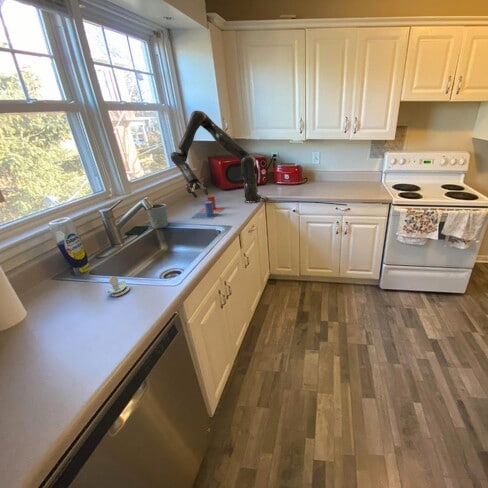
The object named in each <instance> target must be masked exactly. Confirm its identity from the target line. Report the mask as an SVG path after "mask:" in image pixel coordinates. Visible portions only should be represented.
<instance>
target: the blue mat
mask: <svg viewBox="0 0 488 488" xmlns="http://www.w3.org/2000/svg"><path fill="white" fill-rule="evenodd" d="M218 213H219V212H214V216H213V217H207V215H206V212H198V213H196V214H195V215H194V216H192V217H191V218H192V219H214V218H215V217H216V216H217V215H218Z"/></svg>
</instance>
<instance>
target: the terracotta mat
mask: <svg viewBox="0 0 488 488" xmlns="http://www.w3.org/2000/svg"><path fill="white" fill-rule="evenodd" d="M224 209H225V207H216V210H213V211H214V213H220V212H221V211H222V210H224ZM201 212H206V209H205V207H204V208H203V209H201Z"/></svg>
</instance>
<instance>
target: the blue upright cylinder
mask: <svg viewBox="0 0 488 488" xmlns="http://www.w3.org/2000/svg"><path fill="white" fill-rule="evenodd" d="M204 208H205V209H206V211H205V213H206V215H207V217H213V216H214V213H215V212H214V211H213V204H212V201H208V200H207V201H204ZM214 217H215V216H214ZM214 217H213V218H214Z"/></svg>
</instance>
